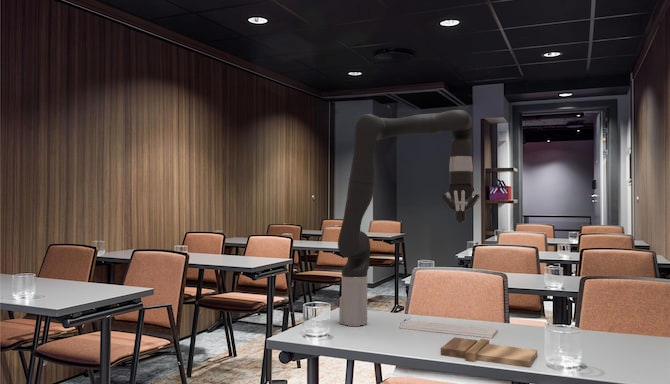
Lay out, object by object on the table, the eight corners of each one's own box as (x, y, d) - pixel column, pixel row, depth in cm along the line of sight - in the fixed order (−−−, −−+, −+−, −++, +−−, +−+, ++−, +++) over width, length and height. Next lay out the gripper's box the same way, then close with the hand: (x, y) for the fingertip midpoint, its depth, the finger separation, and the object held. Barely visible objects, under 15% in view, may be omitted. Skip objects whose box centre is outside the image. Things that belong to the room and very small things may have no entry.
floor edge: (465, 360, 148) (465, 352, 148) (480, 346, 163) (480, 338, 163) (528, 369, 140) (528, 360, 140) (538, 353, 155) (538, 345, 155)
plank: (440, 347, 154) (465, 351, 150) (454, 337, 166) (477, 340, 163) (440, 356, 154) (465, 360, 150) (454, 345, 166) (477, 348, 162)
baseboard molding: (491, 341, 171) (497, 333, 182) (491, 332, 171) (497, 325, 182) (398, 331, 185) (409, 324, 196) (398, 322, 185) (409, 316, 196)
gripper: (438, 170, 180) (438, 222, 179) (477, 169, 173) (478, 223, 173) (445, 171, 186) (445, 221, 186) (483, 170, 180) (483, 222, 180)
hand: (461, 222), depth 180 cm, fingers closed
